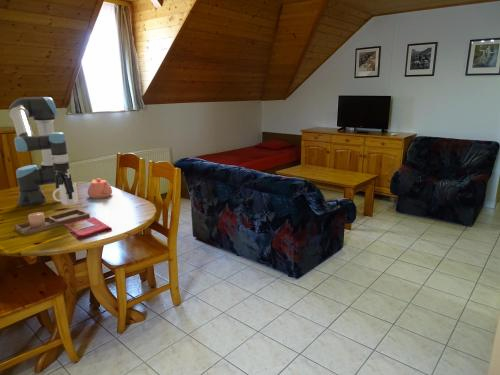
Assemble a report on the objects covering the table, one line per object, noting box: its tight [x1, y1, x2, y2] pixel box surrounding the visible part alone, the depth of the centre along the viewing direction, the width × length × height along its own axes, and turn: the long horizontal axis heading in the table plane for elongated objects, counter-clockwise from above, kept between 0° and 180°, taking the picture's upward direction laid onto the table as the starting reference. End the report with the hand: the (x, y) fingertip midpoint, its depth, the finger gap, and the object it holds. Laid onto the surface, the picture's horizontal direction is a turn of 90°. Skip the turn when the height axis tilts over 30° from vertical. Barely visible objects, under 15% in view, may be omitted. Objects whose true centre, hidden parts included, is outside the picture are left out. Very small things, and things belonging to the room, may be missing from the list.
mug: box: [52, 182, 79, 206], centre depth 196 cm, size 12×8×10 cm
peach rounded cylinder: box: [27, 211, 46, 229], centre depth 187 cm, size 7×7×7 cm
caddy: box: [14, 208, 91, 236], centre depth 193 cm, size 13×33×3 cm, turn 141°
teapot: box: [87, 177, 113, 200], centre depth 240 cm, size 22×15×12 cm
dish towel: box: [63, 216, 113, 240], centre depth 188 cm, size 17×24×3 cm
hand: (66, 202), depth 197 cm, fingers closed on mug, 8 cm apart
